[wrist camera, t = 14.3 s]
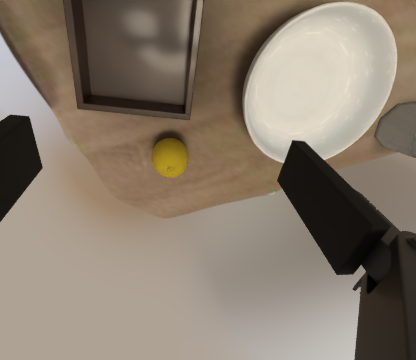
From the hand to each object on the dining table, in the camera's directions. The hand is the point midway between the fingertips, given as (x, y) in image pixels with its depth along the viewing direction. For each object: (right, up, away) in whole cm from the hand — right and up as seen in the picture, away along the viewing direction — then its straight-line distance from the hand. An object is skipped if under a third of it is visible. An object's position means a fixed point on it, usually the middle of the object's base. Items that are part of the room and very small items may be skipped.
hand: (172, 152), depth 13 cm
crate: (-7, +19, +18) cm, 27 cm away
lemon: (-4, +4, +28) cm, 29 cm away
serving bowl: (+16, +13, +25) cm, 33 cm away
